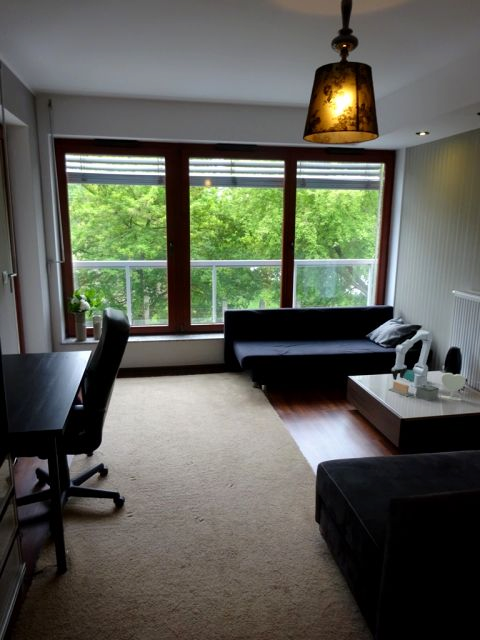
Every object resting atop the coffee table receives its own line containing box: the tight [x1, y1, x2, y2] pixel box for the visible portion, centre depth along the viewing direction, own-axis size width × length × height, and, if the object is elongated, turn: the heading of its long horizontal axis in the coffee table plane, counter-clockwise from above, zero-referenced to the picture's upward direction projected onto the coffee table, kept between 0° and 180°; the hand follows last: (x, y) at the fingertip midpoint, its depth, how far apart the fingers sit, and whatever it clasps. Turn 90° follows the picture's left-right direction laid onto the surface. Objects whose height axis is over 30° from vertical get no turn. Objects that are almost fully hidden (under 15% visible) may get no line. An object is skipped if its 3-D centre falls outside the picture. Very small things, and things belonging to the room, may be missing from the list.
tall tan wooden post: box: [392, 380, 410, 394], centre depth 335 cm, size 2×12×6 cm, turn 33°
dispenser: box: [415, 383, 439, 401], centre depth 327 cm, size 11×11×8 cm
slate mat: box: [388, 387, 414, 398], centre depth 335 cm, size 8×16×1 cm, turn 34°
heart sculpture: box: [440, 372, 467, 401], centre depth 326 cm, size 16×5×18 cm, turn 64°
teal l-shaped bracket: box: [403, 369, 428, 383], centre depth 366 cm, size 18×11×10 cm, turn 17°
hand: (398, 378), depth 336 cm, fingers open, 7 cm apart
